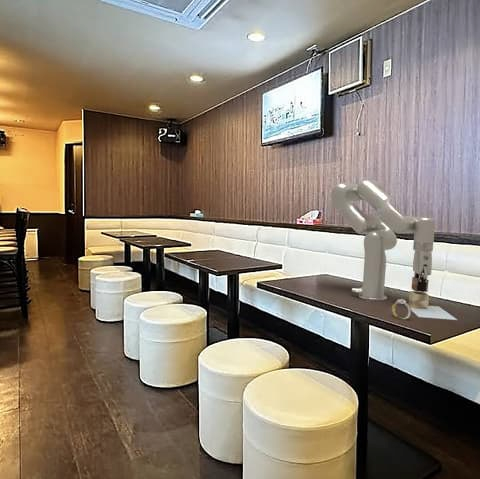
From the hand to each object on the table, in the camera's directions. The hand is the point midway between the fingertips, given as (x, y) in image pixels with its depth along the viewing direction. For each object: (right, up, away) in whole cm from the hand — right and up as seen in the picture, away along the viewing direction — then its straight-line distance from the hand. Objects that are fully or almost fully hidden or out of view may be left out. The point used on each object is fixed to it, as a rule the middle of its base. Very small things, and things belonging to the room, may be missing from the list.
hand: (419, 289), depth 166 cm
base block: (0, -8, +1) cm, 8 cm away
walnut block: (0, 0, 0) cm, 0 cm away
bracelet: (-15, -10, -17) cm, 25 cm away
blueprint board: (+1, -9, -6) cm, 11 cm away
